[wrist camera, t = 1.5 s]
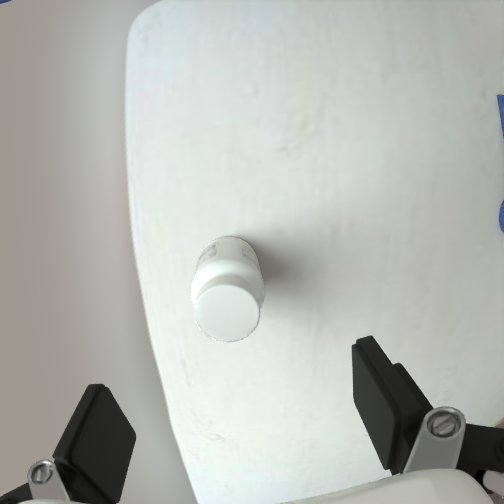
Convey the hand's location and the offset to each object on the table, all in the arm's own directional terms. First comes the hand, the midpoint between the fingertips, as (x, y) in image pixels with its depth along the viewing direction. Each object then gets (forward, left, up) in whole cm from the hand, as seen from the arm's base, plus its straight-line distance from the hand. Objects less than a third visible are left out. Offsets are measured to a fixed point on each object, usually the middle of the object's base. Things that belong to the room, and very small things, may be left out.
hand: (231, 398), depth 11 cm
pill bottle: (0, 0, -14) cm, 14 cm away
